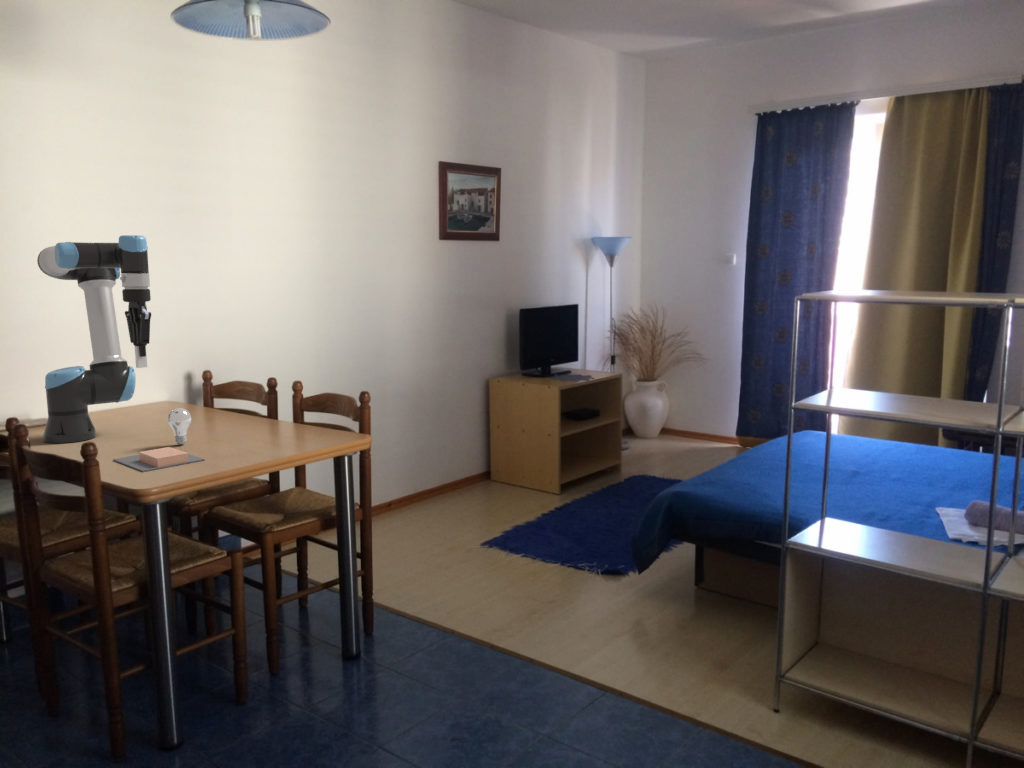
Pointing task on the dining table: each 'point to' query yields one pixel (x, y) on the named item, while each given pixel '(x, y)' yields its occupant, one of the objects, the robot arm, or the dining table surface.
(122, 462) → the mat
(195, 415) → the dining table surface
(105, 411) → the dining table surface
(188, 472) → the dining table surface
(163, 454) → the tile
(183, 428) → the light bulb
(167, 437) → the dining table surface
